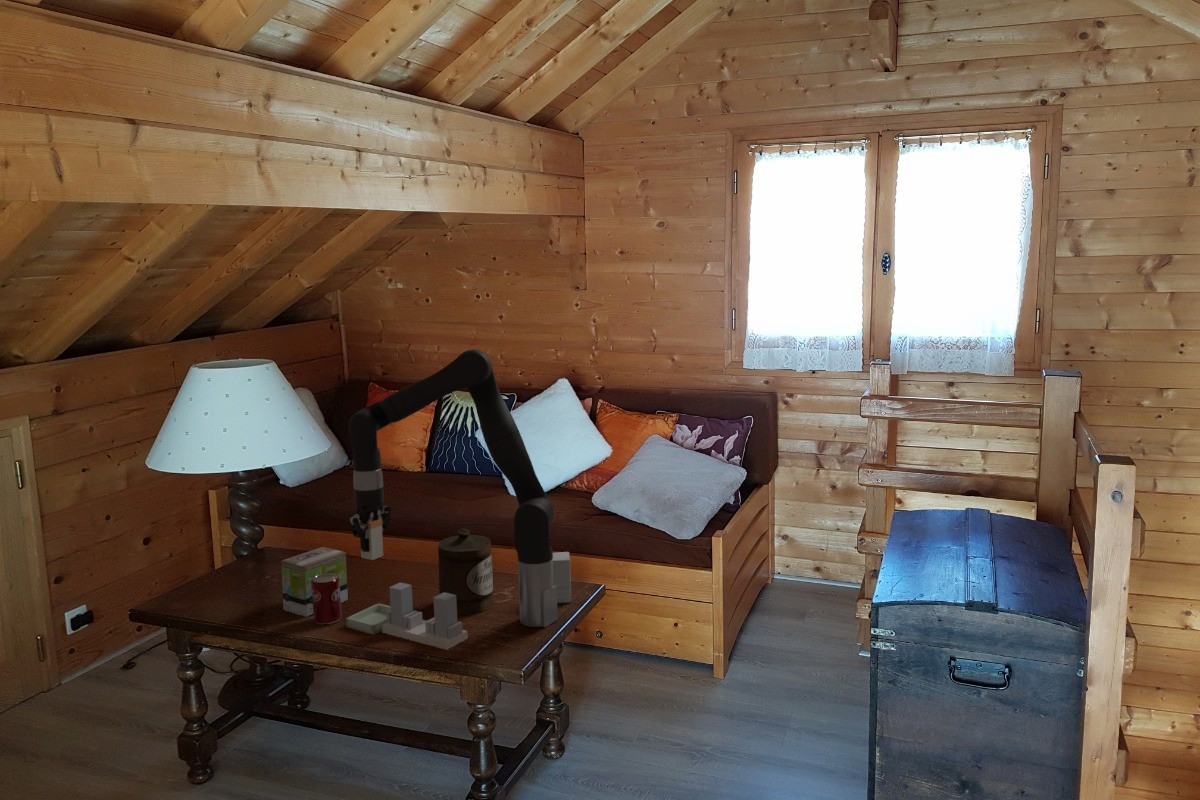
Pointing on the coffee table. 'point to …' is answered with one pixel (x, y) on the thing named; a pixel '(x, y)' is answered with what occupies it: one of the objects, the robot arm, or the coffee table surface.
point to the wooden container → (466, 571)
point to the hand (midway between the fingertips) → (372, 548)
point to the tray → (369, 619)
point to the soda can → (326, 598)
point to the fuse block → (411, 626)
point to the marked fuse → (374, 540)
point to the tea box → (310, 577)
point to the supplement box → (562, 576)
